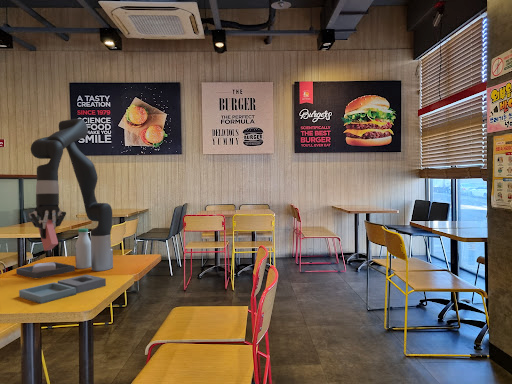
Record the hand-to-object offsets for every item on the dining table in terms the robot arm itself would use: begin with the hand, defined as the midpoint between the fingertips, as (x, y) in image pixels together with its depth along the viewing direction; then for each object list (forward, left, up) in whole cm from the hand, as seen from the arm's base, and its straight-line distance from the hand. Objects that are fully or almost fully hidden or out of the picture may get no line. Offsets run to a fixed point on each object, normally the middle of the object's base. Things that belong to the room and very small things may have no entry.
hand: (47, 238), depth 136 cm
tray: (0, 0, -22) cm, 22 cm away
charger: (-19, -41, -22) cm, 51 cm away
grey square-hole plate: (-13, 0, -22) cm, 26 cm away
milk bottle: (-35, -35, -22) cm, 54 cm away
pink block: (0, +3, -3) cm, 4 cm away
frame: (-19, -41, -22) cm, 50 cm away
